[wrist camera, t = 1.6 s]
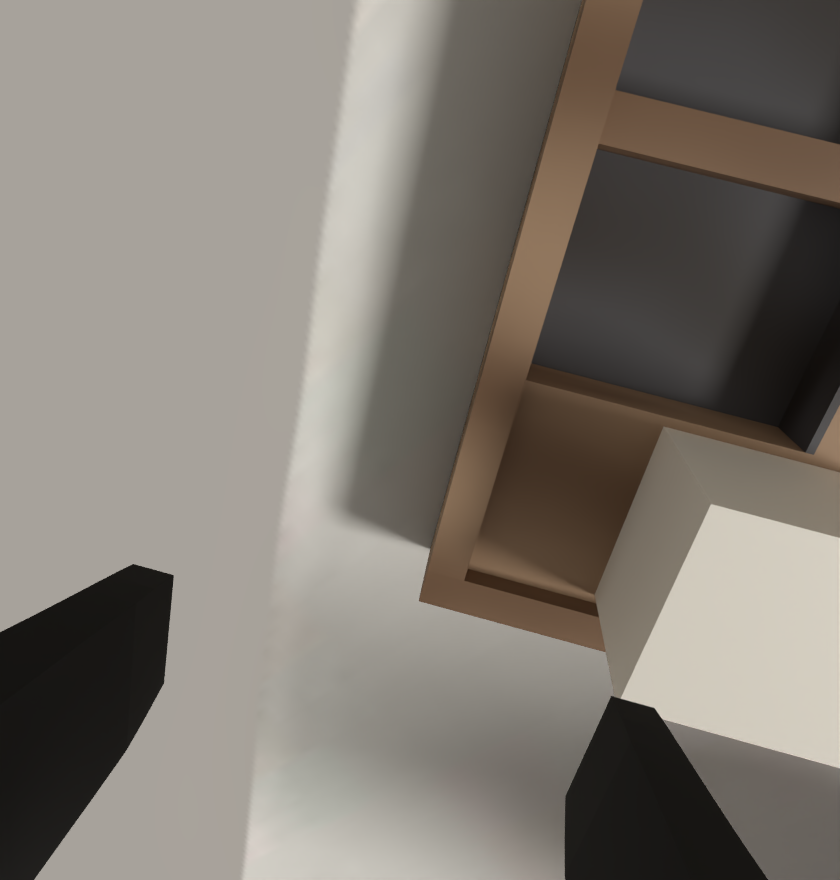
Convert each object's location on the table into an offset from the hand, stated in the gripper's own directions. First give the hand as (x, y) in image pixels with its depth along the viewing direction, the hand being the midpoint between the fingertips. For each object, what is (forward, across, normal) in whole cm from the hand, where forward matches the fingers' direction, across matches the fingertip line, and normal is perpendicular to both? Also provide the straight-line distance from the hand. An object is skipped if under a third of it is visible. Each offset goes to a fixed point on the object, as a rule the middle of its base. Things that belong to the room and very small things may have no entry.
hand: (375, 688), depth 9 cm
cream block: (+8, -8, 0) cm, 11 cm away
